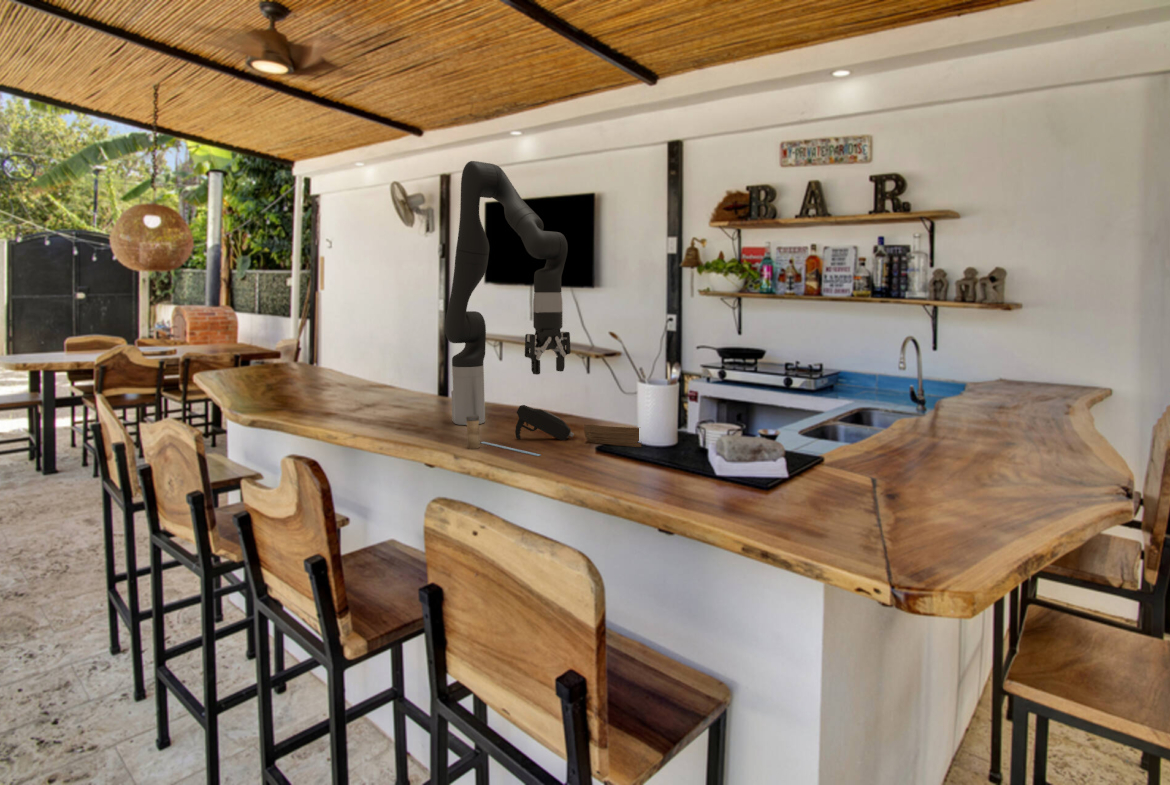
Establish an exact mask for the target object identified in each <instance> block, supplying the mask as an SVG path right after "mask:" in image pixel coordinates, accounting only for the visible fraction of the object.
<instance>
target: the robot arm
mask: <svg viewBox="0 0 1170 785" xmlns="http://www.w3.org/2000/svg"><path fill="white" fill-rule="evenodd" d="M481 198H484V199H485V198H487V199H493V200H496V201H497V202H498V203H500V204H501V205H502V207H503V211H504V217H505V221H507V224H508V225H509V226H510V227H511V228H512V230H514V232H515V233H516V234H517V235H518V236H519V237H520V239H521V241H522V243H523V246H524V248H525V251H526V252H527V253H528V254H529V255H530V256H531V257H532V258H534V259H537V260H546V262H545V265H544V267H542V268H539V269H537V270H536V271H535V272H534V275H533V292H534V293H533V300H532V304H533V306H532V311H533V312H532V316H533V318H532V319H533V320H532V321H533V326H532V327H533V328H534V330H535V332H534V333H533V334H532V333H526V334H525V335H524V336H525V337H524V357H525V358H527V359H530V361H531V362H530V363H531V372H532V374H533V375H537V376H539V375H541V360H540V359H541V357H542V355H543V354H544V353H545V352H546V351H549V350H552V352H554V353H555V355H556V357H555V369H556V372H561V373H562V372H564V370H565V364H566V363H565V362H566V360H565V358H566V356H568V355H570V354H571V334H570V332H569V331H561V329H562V328H563V297H562V276H563V272H564V268H565V263H566V260H567V256H568V246H569V245H568V241H567V239H566V237H565V235H564V234H563V233H561V232H558V231H549V230H544V222H543V220H542V219H541V218H540V216H539V215H538V214H537V213H536V212H535V211H534V210H533V209H532V208H531V207H530V206H529V205H528V204H527V203H526V202H525V201H524V199H523V198H522V197H521V195H520V194H519V193H518V191H517V189H516V188H515V186H514V185H513V184H512V181H511V180H510V179H509V177H508V176H507V174H506V173H505V172H504V170H503V169H502V168H501V167H500V166H499V165H498V164H497V165H496V164H494V163H491V162H484V161H477V160H476V161H475V160H469V161H468V162H466V164H465V165H464V167H463V170H462V173H461V178H460V204H459V205H460V207H459V208H460V210H459V212H460V213H459V225H458V235H457V242H456V247H455V249H456V250H455V257H454V269H453V270H454V271H453V277H452V285H451V292H450V297H449V301H448V305H447V310H446V316H445V320H444V321H445V322H444V333H445V336H446V339H447V340H448V342H450V343H452V344H464V348H463V349H462V350H461V351H460V352H458V353H456V354H454V355H453V357H452V358H451V369H452V370H451V372H452V374H451V375H452V391H451V417H452V418H451V420H452V422H453V424H455V425H459V426H467V420H466V416H470V415H477V416H479V425H480V424H483V423H486V414H485V413H486V411H485V410H486V405H485V404H486V403H485V400H486V399H485V374H484V373H485V372H484V371H485V370H484V360H485V357H486V345H487V344H486V340H487V336H486V335H487V332H486V331H487V327H486V326H487V324H486V320H485V319H484V318H485V317H484V316H483V315H482V313H480V312H478V311H473V310H471V311H467V310H468V305H469V301H470V298H471V296H472V294H473V293H474V291H475V289H476V288H477V287H478V286H479V283H480V282H481V280H482V279H483V277H484V276H485V274H486V272H487V269H488V264H489V255H490V243H489V238H488V237H487V234H486V232H485V229H484V226H483V224H482V222H481V218H480V217H481V216H480V206H481V205H480V204H481V202H480V201H481Z"/></svg>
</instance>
